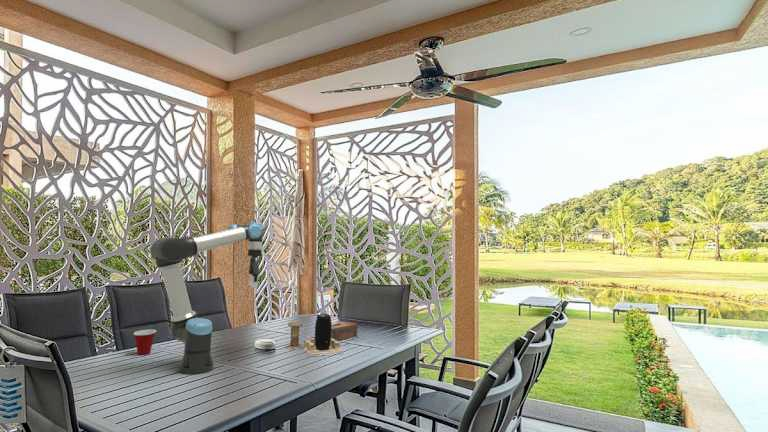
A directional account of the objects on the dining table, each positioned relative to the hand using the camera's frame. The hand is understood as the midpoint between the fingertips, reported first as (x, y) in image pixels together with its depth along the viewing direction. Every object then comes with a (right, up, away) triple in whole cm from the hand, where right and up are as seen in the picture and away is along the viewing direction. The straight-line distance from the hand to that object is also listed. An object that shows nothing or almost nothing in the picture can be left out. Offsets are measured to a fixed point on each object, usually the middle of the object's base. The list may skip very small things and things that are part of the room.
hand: (252, 286), depth 236 cm
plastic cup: (-55, -34, -13) cm, 66 cm away
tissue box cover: (+43, -41, +35) cm, 70 cm away
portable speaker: (+39, -37, +3) cm, 54 cm away
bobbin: (+21, -38, +10) cm, 45 cm away
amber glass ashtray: (+39, -38, +3) cm, 55 cm away
